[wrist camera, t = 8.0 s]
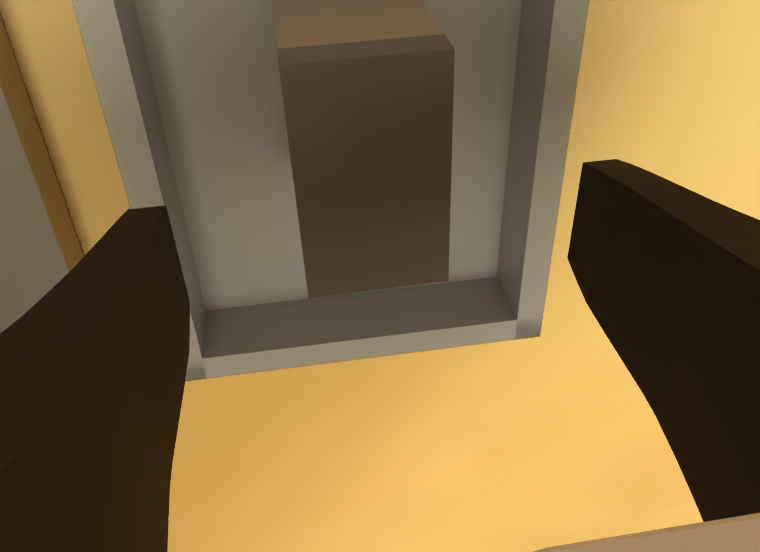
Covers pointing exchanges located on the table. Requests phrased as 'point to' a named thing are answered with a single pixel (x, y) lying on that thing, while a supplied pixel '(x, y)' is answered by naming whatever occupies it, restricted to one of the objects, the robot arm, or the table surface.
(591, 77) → the table surface
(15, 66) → the block
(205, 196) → the parts tray
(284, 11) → the block
